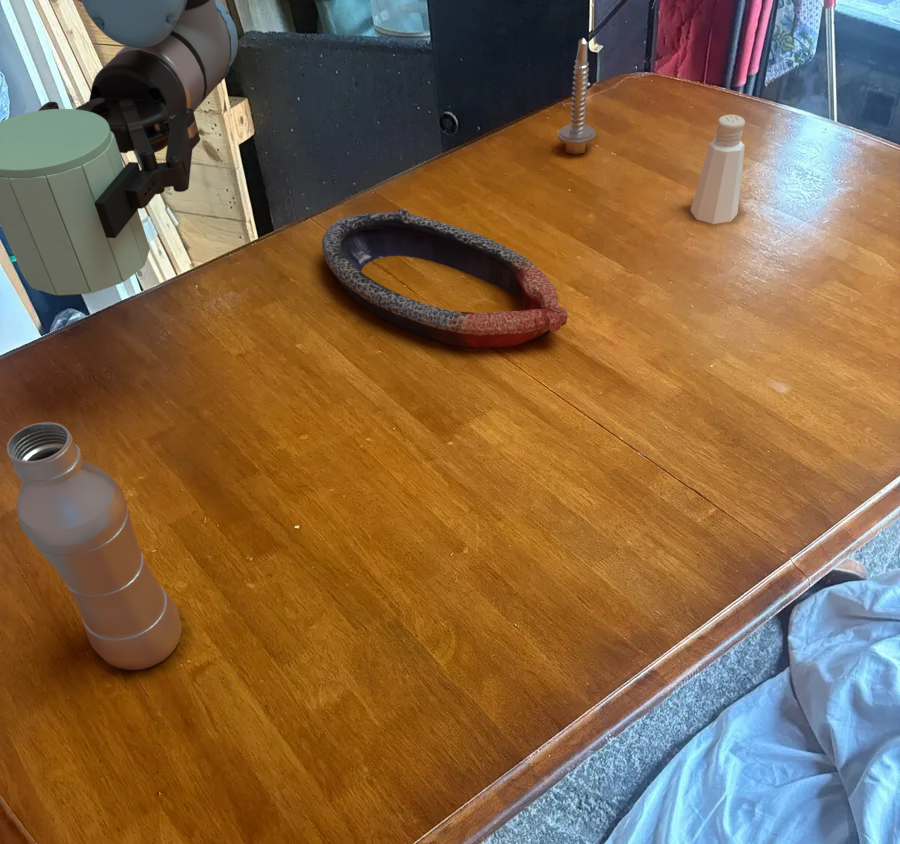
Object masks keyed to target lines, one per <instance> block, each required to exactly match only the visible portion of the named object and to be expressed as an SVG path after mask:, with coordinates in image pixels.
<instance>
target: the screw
mask: <svg viewBox="0 0 900 844" xmlns="http://www.w3.org/2000/svg"><path fill="white" fill-rule="evenodd" d="M577 41H578V43H577V54H576V59H575V60H574V63H575V65H574V66H573V68H574V70H573V71H572V73H573V74H574V75H573V76H572V79H573V81H572V84H573V86H572V87H571V89H572V90H573V91H572V92H571V94H572V97H571V100H572V102H570V104H571V107H570V109H571V111H570V115H571V117H569V118H570V120H571V121H570V122H569V124H566V125H564V126H562V127H561V128H560V129H559V130H558V131H557V139H558V140H559V141H560V142H562V143H564V144H565V153H566V154H569V155H573V156H577V155H581V154H584V153H586V145H587V144H589V143H591V142H593V141H595V139H596V137H597V133H596V131H595V129H593V127H592V126H590V125H587V124H585V122H586V120H585V119H586V111H587V110H586V108H587V97H588V94H587V92H588V86H589V85H588V82H589V78H588V77H589V75H590V74H589V71H590V68H589V65H590V62H588V46H589V44H588V43H589V42H588V41H587V40H586V38H584V37H582V38H580V39H579V40H577Z"/></svg>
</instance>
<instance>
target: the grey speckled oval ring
mask: <svg viewBox="0 0 900 844" xmlns="http://www.w3.org/2000/svg"><path fill="white" fill-rule="evenodd" d="M321 249H322V254H323V258H324V260H325V262H326V264H327V266H328V268H329V269H330V270H331V272H332V273H333V275H334V276H335V278H336V280H337V281H338V282H339V284H340V285H341V286H342V287H343V288H344V290H345V291H346V292H347V293H348V294H349V295H350V296H351V297H352V298H353V299H354V300H355V301H357V303H359V304H360V305H361V306H362V307H364V308H365V309H366V310H367V311H369V312H371V313H372V314H374V315H375V316H377V317H379V318H381V319H383V320H384V321H386V322H388V323H390V324H392V325H394V326H397V327H398V328H401V329H403V330H406V331H408V332H410V333H413V334H415V335H417V336H421V337H423V338H426V339H428V340H432V341H435V342H439V343H442V344H447V345H452V346H457V347H463V348H474V349H479V348H480V349H481V348H496V347H498V348H508V347H516V346H519V345H522V344H525V343H528V342H529V341H532V340H534V339H536V338H539V337H541V336H543V335H545V333H547V332H550V333H556V332H557V331H559V330H560V328H561V326H565V325H566V324H567V321H568V318H569V316H568V310H567V309H565V308H563V307H562V306H560V305H559V296H558V293H557V289H556V287H555V286H554V284H553V283H552V281H551V280H550V279H549V277H548V276H547V275H546V274H545V273H544V272H543V271H542V270H541V269H540V268H539V267H537V265H536V264H535V263H533V262H532V261H531V260H529V259H528V258H527V257H525V256H523V255H522V254H520V253H518V252H516V251H515V250H513V249H511V248H509V247H507V246H506V245H503V244H501V243H499V242H497V241H495V240H494V239H493V240H492V239H491V238H488V237H486V236H483V235H481V234H479V233H476V232H474V231H470V230H467V229H465V228H461V227H458V226H455V225H452V224H449V223H446V222H441V221H438V220H435V219H431V218H427V217H423V216H420V215H416V214H412V213H410V212H409V211H408V209H406V208H399V209H398V210H397V211H393V212H392V211H390V212H369V213H368V212H366V213H360V214H353V215H349V216H345V217H343V218H341V219H338V220H336V221H335V222H333V223H332V224H331V225H330V226H329V227H328V228H327V229H326V231H325V233H324V235H323V237H322V239H321ZM387 257H409V258H416V259H421V260H425V261H429V262H433V263H436V264H439V265H442V266H445V267H448V268H451V269H455V270H457V271H459V272H462V273H465V274H467V275H470V276H472V277H475V278H477V279H479V280H482V281H484V282H486V283H489V284H491V285H494V286H496V287H499V288H501V289H503V290H505V291H507V292H509V293H511V294H513V295H514V296H515V297H516V298H518V300H520V301H521V302H522V305H523V306H524V310H514V311H513V310H512V311H490V312H472V311H470V312H469V311H460V310H453V309H447V308H442V307H438V306H434V305H430V304H427V303H424V302H421V301H418V300H415V299H412V298H410V297H407V296H405V295H403V294H400V293H398V292H396V291H394V290H391V289H390V288H387V287H385V286H384V285H382V284H381V283H378V282H377V281H375V280H373V279H372V278H370V277H368V276H367V275H366V274H365V273H363V272H362V270H363V268H364V267H365V266H366V265H367V264H368V263H371V262H373V261H374V260H378V259H382V258H387Z"/></svg>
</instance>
